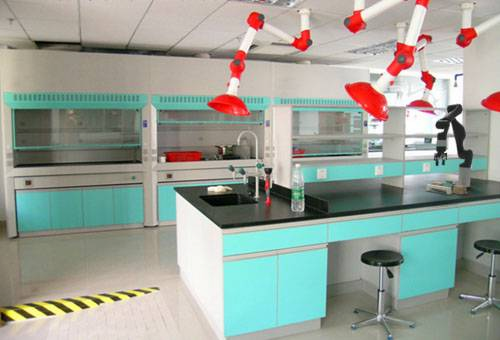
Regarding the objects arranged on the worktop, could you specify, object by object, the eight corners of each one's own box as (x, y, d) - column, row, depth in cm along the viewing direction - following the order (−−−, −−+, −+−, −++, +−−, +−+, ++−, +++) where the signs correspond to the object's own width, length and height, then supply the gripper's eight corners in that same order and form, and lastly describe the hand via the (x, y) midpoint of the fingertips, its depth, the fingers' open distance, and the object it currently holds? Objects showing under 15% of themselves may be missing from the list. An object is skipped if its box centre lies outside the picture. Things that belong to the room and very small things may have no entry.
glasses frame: (428, 190, 355) (428, 184, 354) (451, 194, 338) (451, 187, 338) (426, 190, 353) (426, 184, 353) (448, 194, 337) (449, 188, 336)
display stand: (436, 188, 364) (437, 178, 362) (467, 193, 341) (468, 182, 340) (430, 189, 359) (431, 178, 358) (461, 194, 337) (462, 183, 336)
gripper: (442, 144, 348) (441, 164, 350) (431, 145, 340) (430, 165, 342) (450, 145, 342) (449, 165, 344) (440, 146, 334) (439, 166, 336)
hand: (440, 165), depth 343 cm, fingers open, 8 cm apart
